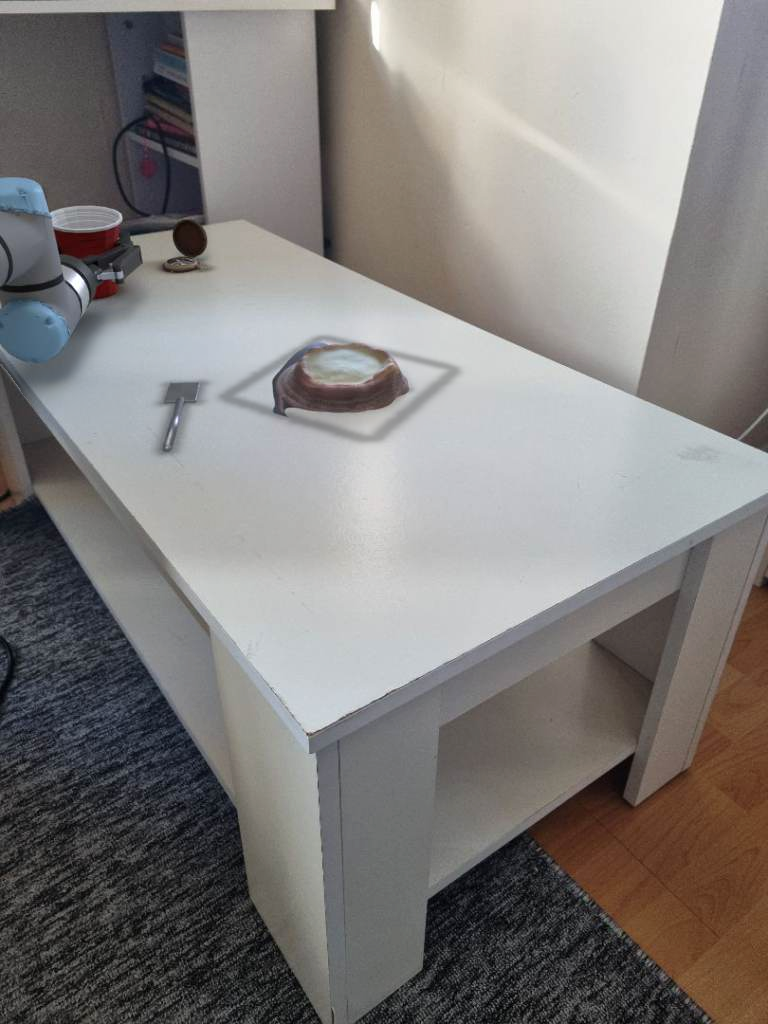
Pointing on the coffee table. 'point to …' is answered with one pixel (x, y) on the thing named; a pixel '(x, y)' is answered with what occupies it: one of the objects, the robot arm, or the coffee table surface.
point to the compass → (187, 246)
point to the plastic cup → (88, 236)
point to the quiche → (338, 379)
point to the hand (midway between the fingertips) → (97, 240)
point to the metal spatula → (178, 407)
